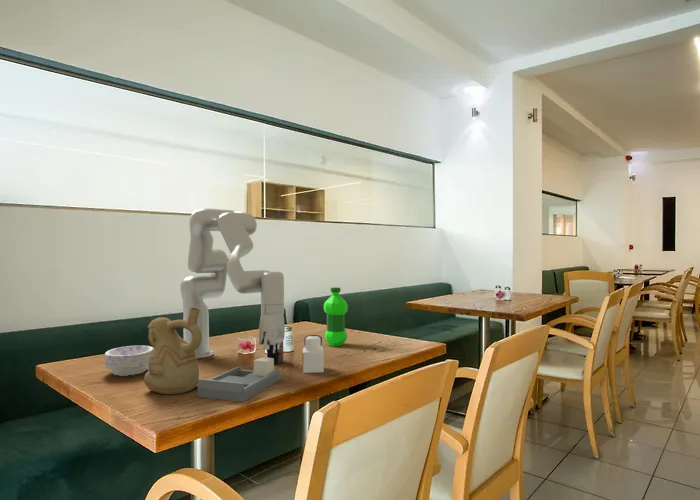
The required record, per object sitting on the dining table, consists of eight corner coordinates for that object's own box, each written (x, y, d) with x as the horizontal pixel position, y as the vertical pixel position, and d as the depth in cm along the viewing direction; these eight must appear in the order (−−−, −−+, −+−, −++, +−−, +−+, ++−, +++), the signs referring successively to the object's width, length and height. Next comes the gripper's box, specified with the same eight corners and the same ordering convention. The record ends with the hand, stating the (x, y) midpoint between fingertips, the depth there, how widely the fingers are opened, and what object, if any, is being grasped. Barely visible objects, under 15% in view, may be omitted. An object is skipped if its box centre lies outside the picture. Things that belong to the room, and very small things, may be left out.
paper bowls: (106, 381, 148) (106, 357, 148) (103, 371, 161) (103, 348, 161) (157, 374, 156) (157, 351, 156) (150, 365, 169) (149, 343, 169)
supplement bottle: (280, 364, 169) (279, 333, 169) (264, 363, 170) (264, 333, 170) (285, 360, 174) (285, 330, 174) (270, 359, 176) (270, 330, 176)
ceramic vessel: (170, 378, 152) (169, 302, 152) (218, 384, 144) (218, 304, 144) (127, 393, 136) (126, 308, 136) (179, 401, 129) (178, 312, 128)
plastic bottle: (333, 341, 209) (333, 286, 209) (352, 344, 203) (352, 287, 203) (319, 345, 201) (318, 288, 201) (338, 348, 195) (338, 289, 194)
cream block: (253, 375, 146) (253, 360, 146) (261, 371, 150) (261, 357, 150) (266, 376, 144) (266, 361, 144) (273, 372, 149) (273, 358, 149)
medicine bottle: (303, 367, 164) (302, 334, 164) (323, 367, 164) (323, 333, 164) (302, 373, 157) (302, 338, 157) (323, 372, 157) (323, 337, 157)
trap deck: (197, 396, 133) (197, 379, 133) (238, 376, 153) (238, 361, 153) (243, 401, 128) (242, 383, 128) (279, 380, 148) (279, 364, 148)
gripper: (273, 305, 161) (273, 358, 161) (250, 311, 147) (251, 369, 147) (292, 306, 159) (293, 360, 159) (271, 312, 145) (272, 371, 145)
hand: (273, 364), depth 153 cm, fingers closed
